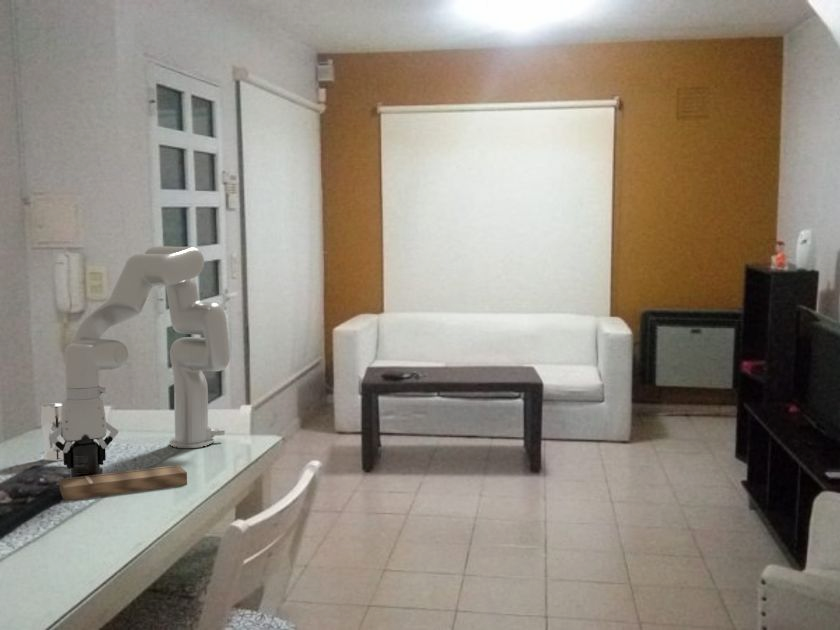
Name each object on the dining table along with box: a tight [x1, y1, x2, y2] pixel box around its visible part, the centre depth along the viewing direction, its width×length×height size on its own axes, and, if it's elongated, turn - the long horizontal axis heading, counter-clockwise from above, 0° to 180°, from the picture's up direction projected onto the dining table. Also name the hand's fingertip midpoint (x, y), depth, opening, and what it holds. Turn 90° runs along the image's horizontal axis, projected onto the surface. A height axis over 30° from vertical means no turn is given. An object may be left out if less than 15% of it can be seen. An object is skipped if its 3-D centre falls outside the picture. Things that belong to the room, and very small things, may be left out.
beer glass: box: [40, 402, 65, 462], centre depth 231 cm, size 7×7×15 cm
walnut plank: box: [59, 464, 188, 501], centre depth 204 cm, size 28×8×3 cm, turn 119°
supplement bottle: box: [69, 434, 101, 478], centre depth 207 cm, size 7×7×12 cm
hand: (84, 465), depth 207 cm, fingers closed on supplement bottle, 6 cm apart
